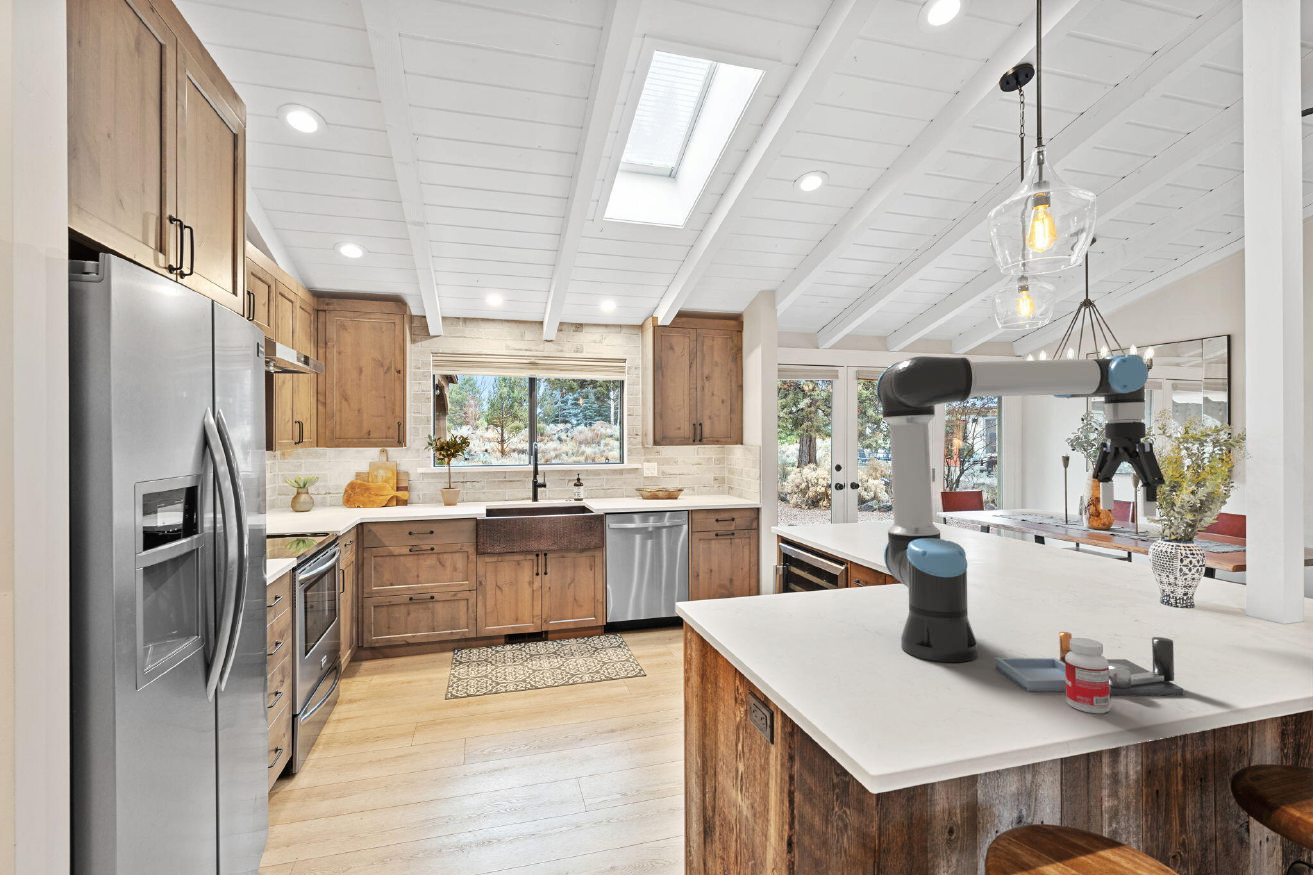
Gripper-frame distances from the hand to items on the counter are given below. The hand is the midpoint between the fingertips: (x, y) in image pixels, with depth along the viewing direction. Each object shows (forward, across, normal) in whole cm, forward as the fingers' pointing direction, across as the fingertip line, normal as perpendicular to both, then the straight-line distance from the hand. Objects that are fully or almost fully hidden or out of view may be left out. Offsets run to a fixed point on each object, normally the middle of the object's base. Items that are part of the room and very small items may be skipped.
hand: (1126, 512), depth 144 cm
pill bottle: (+28, -40, +35) cm, 60 cm away
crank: (+26, -33, +21) cm, 47 cm away
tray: (+28, -28, +36) cm, 53 cm away
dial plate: (+28, -29, +23) cm, 46 cm away
